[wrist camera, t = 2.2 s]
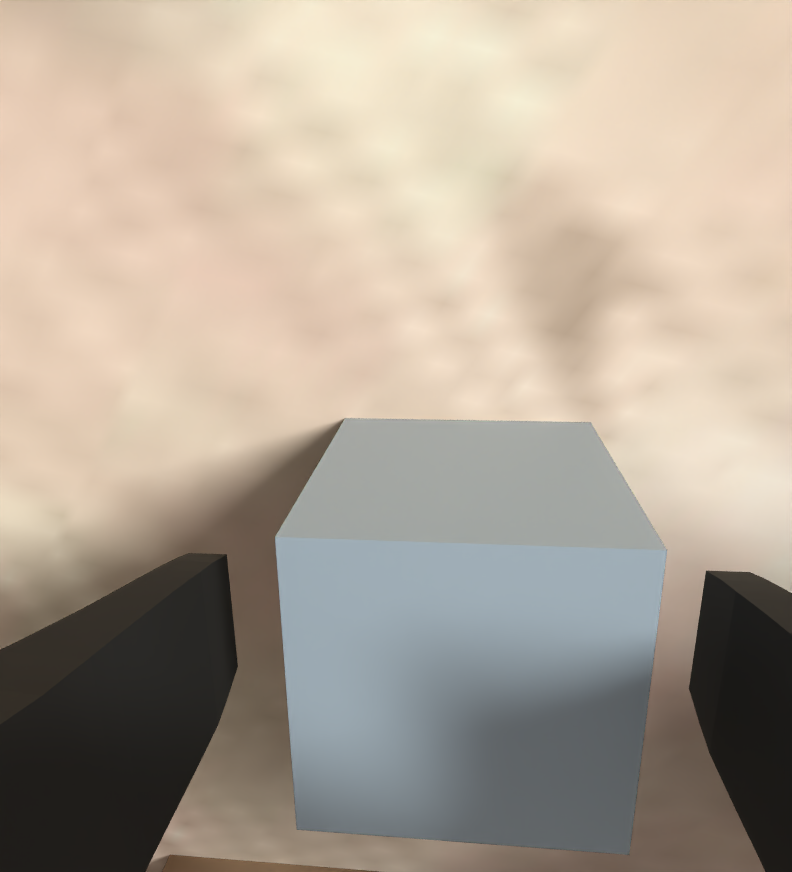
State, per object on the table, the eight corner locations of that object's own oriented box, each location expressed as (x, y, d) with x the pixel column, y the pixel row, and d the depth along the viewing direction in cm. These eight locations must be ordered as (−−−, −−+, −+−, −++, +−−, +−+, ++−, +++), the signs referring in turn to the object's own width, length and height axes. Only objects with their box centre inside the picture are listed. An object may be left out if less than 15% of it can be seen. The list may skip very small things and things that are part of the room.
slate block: (589, 421, 12) (666, 550, 8) (572, 634, 14) (629, 854, 9) (345, 417, 13) (275, 537, 8) (353, 624, 14) (296, 829, 9)
